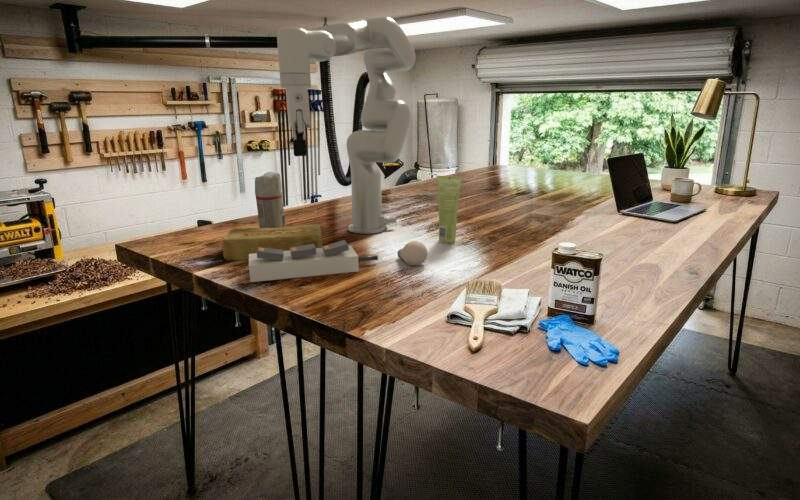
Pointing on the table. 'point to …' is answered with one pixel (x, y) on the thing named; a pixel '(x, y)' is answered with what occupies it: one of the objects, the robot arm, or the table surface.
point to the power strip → (305, 265)
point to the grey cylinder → (269, 201)
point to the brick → (268, 240)
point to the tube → (448, 206)
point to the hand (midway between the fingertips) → (300, 155)
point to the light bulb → (413, 253)
